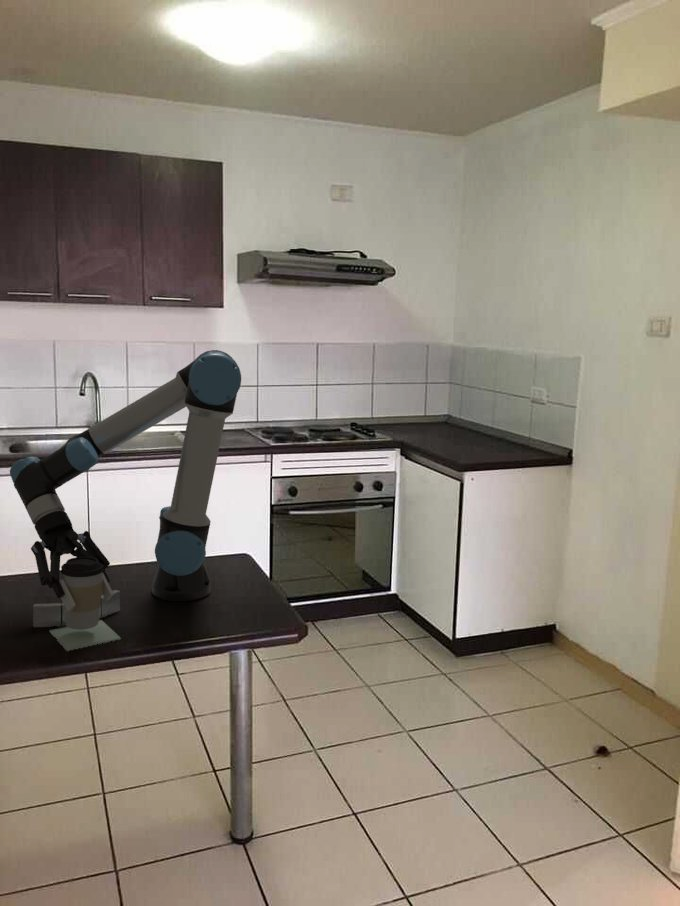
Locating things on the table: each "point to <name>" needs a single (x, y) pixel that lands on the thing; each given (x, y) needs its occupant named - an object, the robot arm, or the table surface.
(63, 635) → the mat
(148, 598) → the table surface
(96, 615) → the coffee cup
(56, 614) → the bent rail
